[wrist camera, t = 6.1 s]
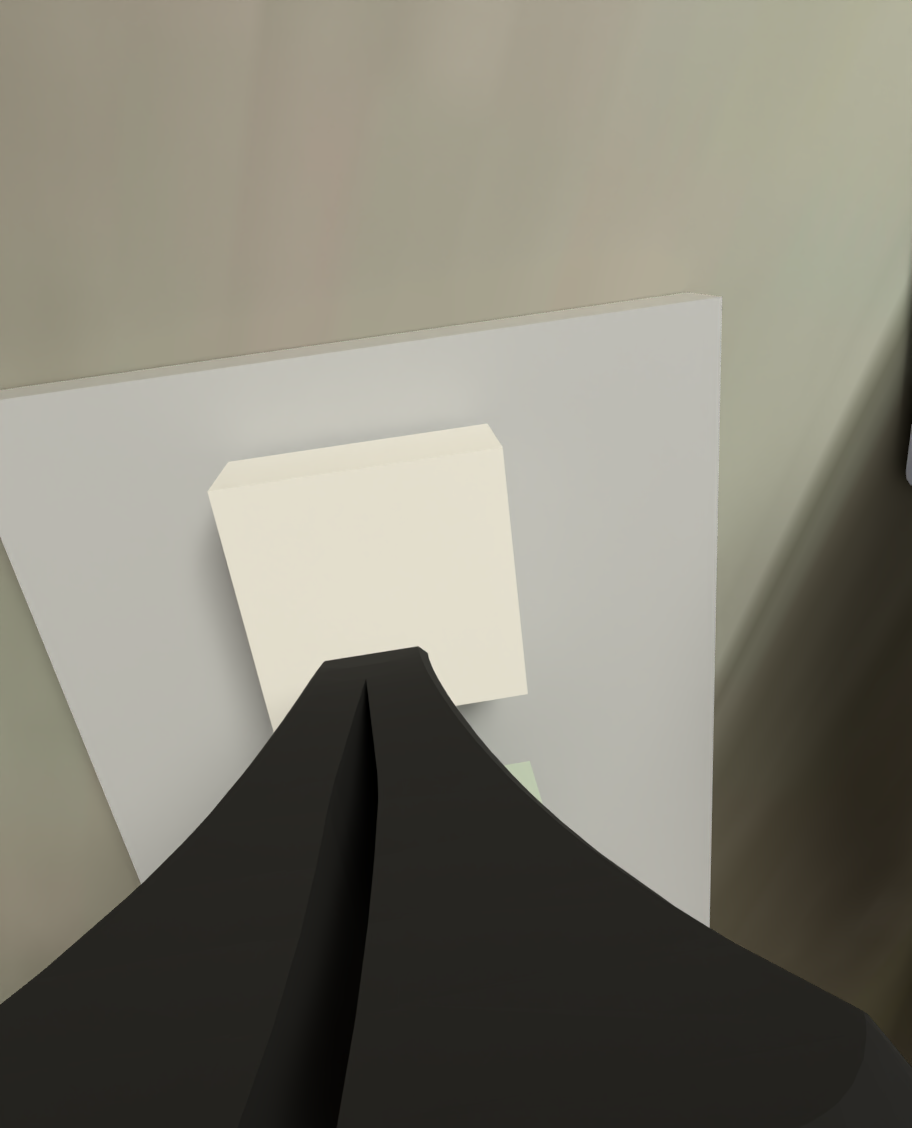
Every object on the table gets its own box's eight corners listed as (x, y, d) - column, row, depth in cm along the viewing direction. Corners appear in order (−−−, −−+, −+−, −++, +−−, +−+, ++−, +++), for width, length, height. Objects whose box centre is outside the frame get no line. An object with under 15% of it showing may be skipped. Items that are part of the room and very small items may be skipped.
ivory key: (476, 406, 15) (502, 447, 12) (500, 612, 17) (527, 694, 14) (242, 440, 15) (207, 491, 12) (293, 645, 17) (274, 735, 14)
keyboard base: (688, 292, 15) (722, 296, 13) (686, 1009, 24) (706, 1058, 22) (-9, 391, 14) (-53, 407, 13) (255, 1088, 23) (247, 1144, 22)
